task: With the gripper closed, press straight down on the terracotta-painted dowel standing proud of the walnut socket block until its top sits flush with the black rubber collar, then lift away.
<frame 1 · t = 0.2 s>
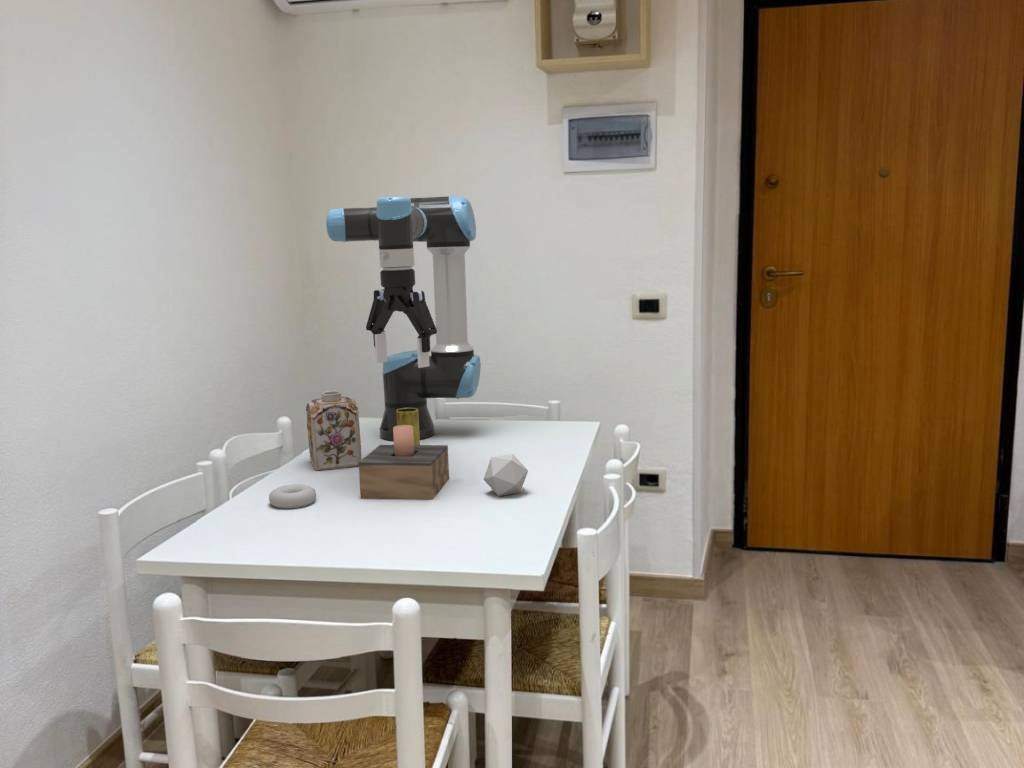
hand: (402, 364, 214), 27 cm above the table, fingers open, 13 cm apart
die: (506, 493, 209), on the table
socket block: (406, 488, 215), on the table
donut: (293, 504, 207), on the table
vase: (410, 468, 233), on the table
peg: (403, 443, 213), point 10 cm above the table, slide at 0.0 cm
decorative jar: (335, 464, 239), on the table
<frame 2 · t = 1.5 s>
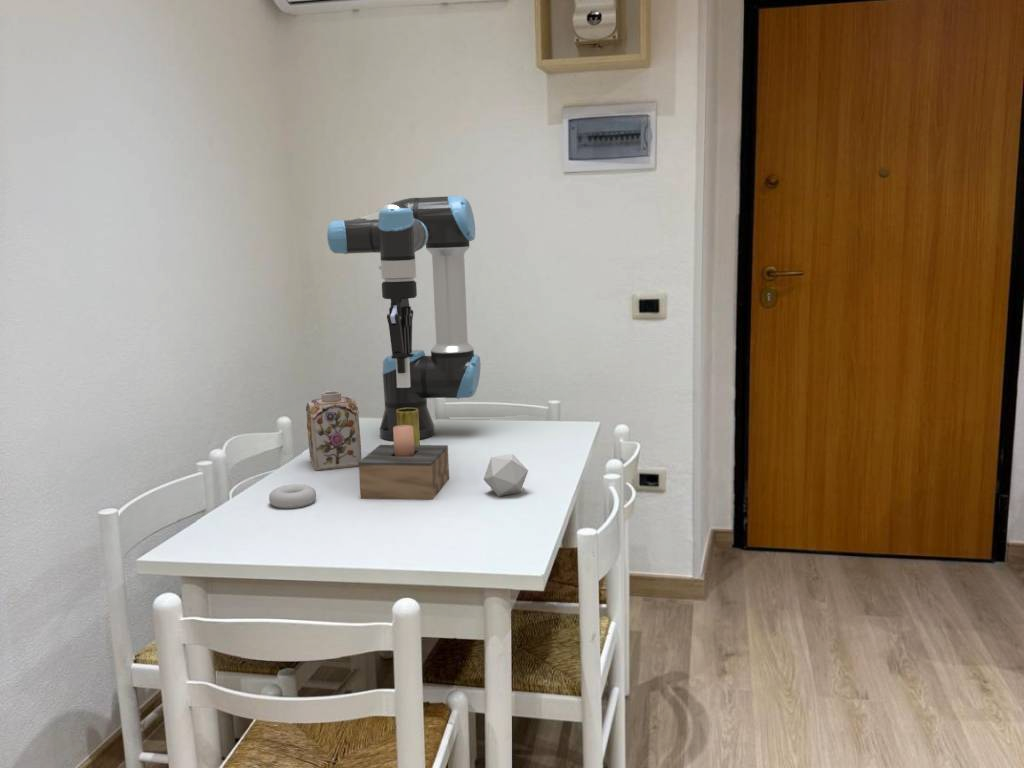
hand: (403, 387, 213), 23 cm above the table, fingers closed
nothing on the table moved.
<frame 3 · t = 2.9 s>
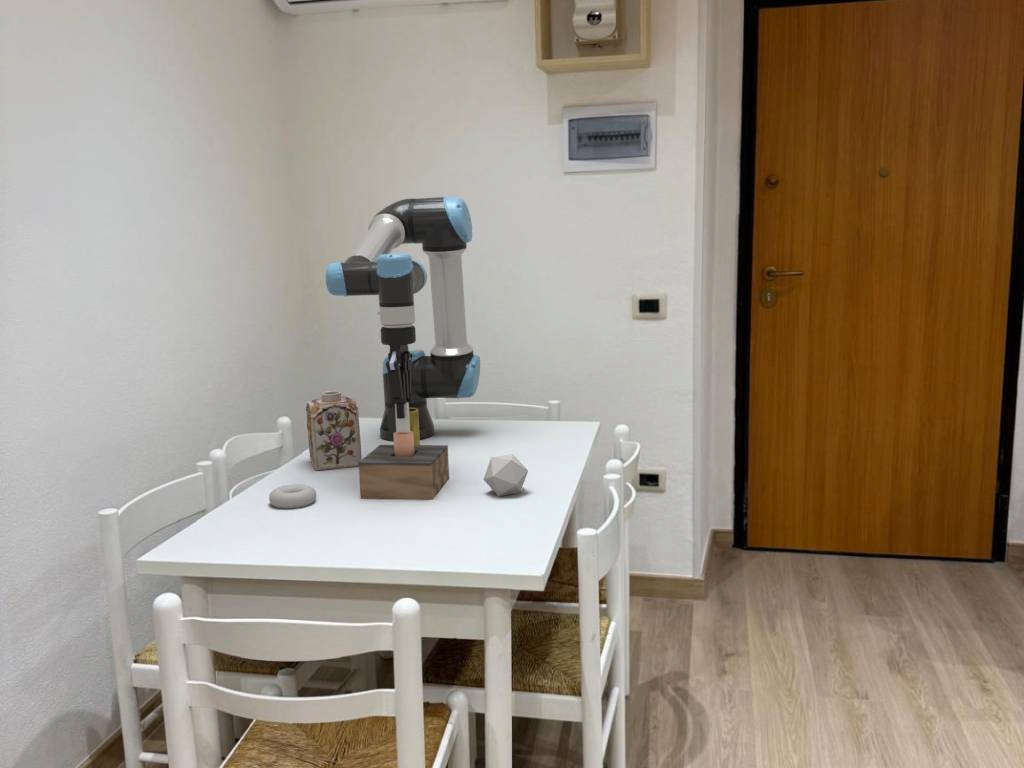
hand: (403, 431, 212), 13 cm above the table, fingers closed
peg: (404, 449, 213), point 9 cm above the table, slide at 1.3 cm, touching gripper
everything else where it was.
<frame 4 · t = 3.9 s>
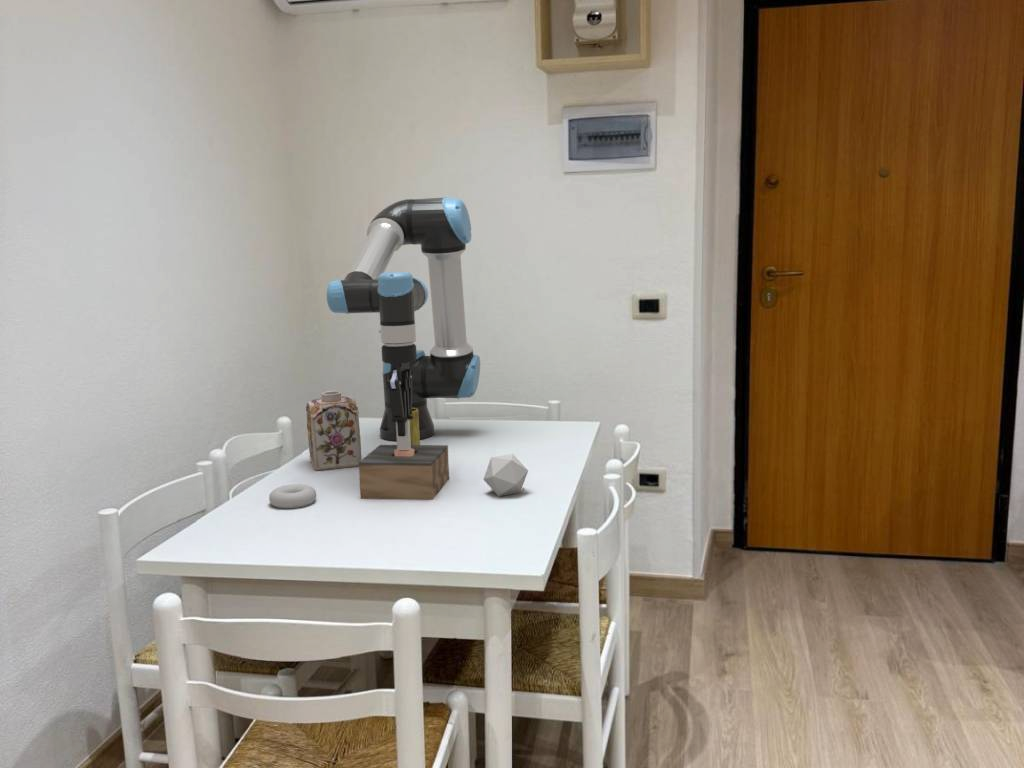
hand: (404, 449, 213), 9 cm above the table, fingers closed
peg: (405, 466, 214), point 5 cm above the table, slide at 5.2 cm, touching gripper
everything else where it was.
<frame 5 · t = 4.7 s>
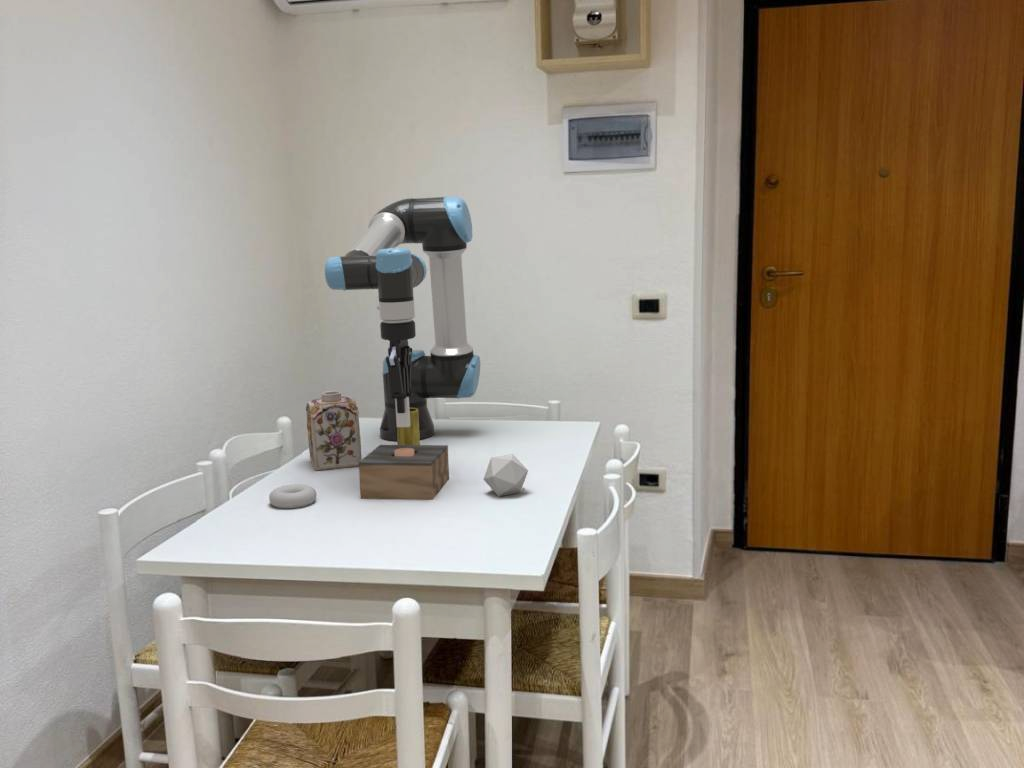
hand: (403, 426, 213), 14 cm above the table, fingers closed
peg: (405, 466, 214), point 5 cm above the table, slide at 5.2 cm
everything else where it was.
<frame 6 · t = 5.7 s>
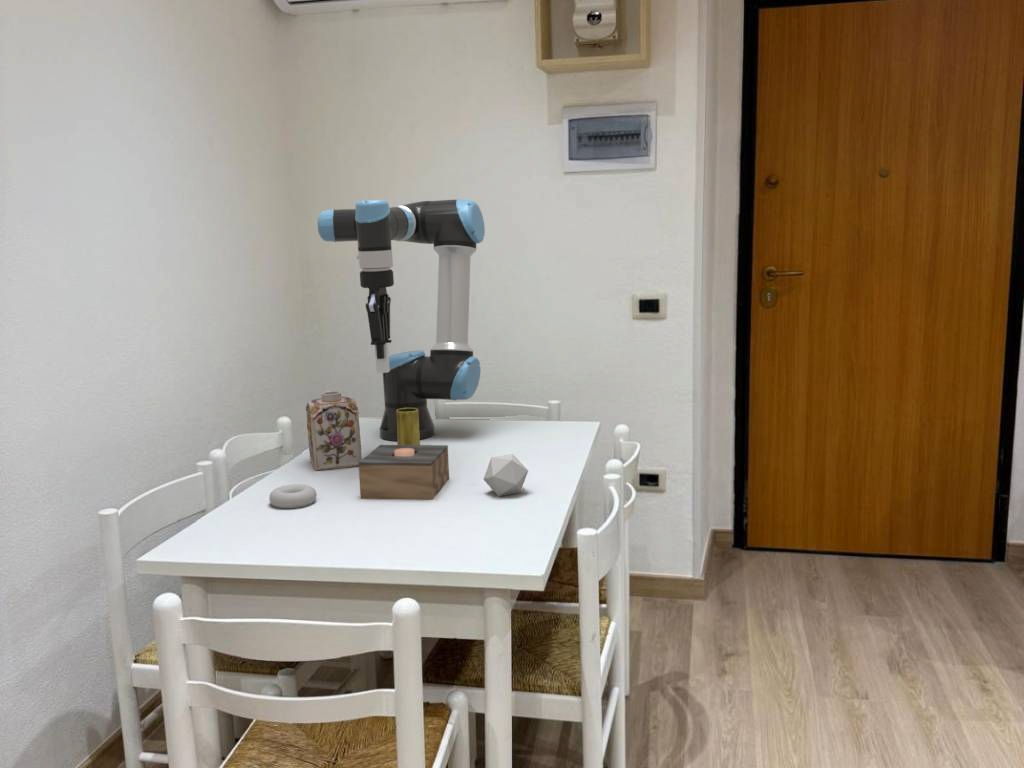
hand: (383, 371, 222), 25 cm above the table, fingers closed
nothing on the table moved.
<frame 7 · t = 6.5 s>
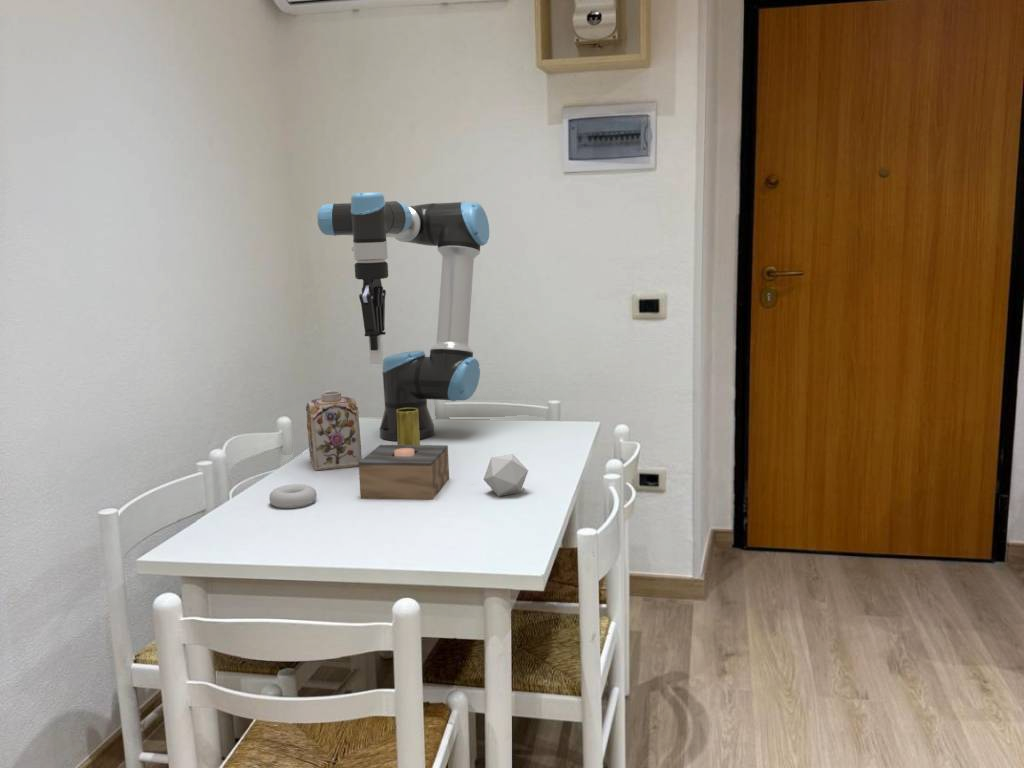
hand: (376, 363, 223), 26 cm above the table, fingers closed
nothing on the table moved.
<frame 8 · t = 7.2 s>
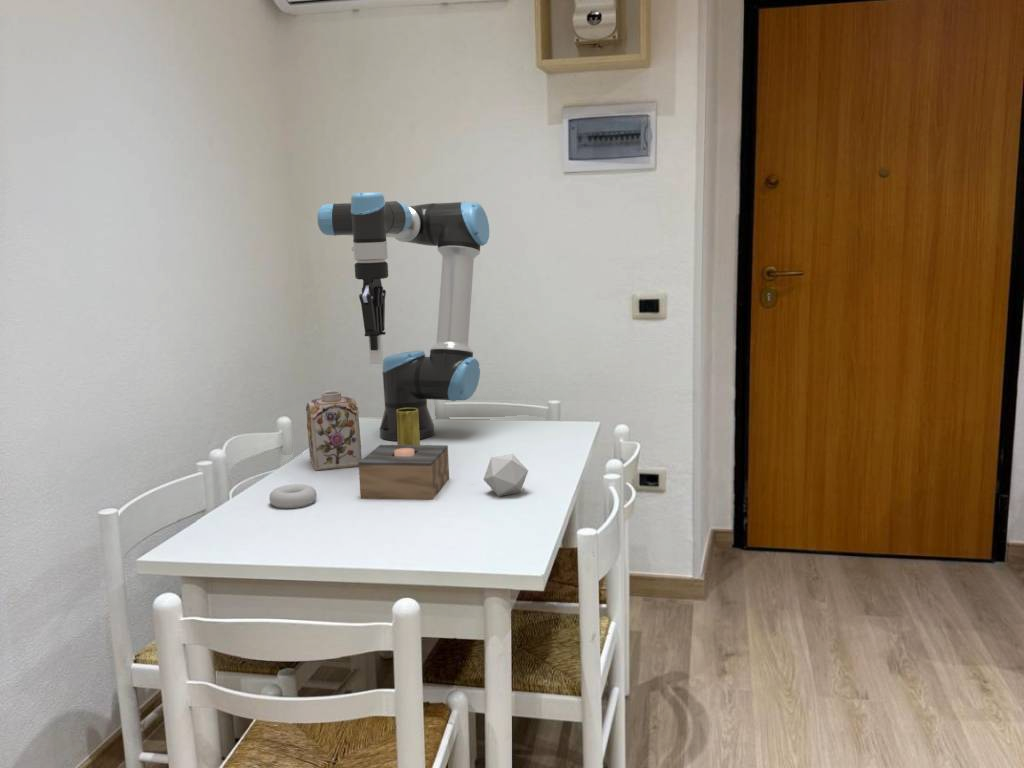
hand: (376, 363, 223), 26 cm above the table, fingers closed
nothing on the table moved.
at the end: peg slide at 5.2 cm; the gripper is holding nothing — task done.
